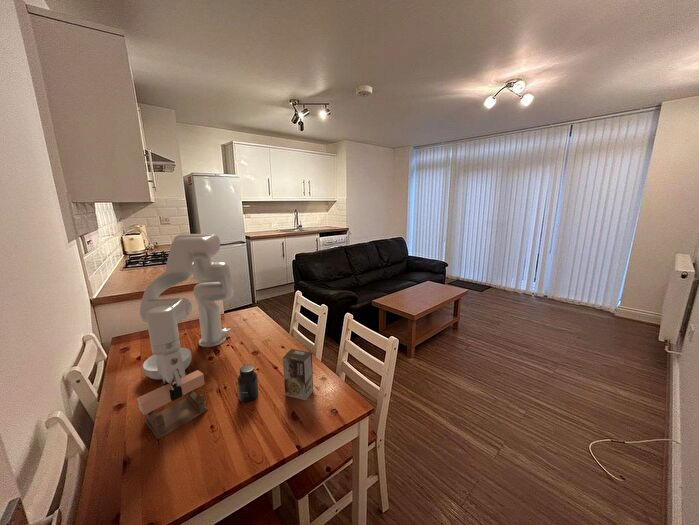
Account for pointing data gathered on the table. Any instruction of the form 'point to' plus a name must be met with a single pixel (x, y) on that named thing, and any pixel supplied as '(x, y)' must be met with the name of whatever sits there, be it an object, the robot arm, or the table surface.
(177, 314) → the robot arm
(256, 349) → the table surface
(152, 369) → the cereal bowl
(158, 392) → the pink rectangular bar
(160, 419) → the plate with corner blocks
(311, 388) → the coffee box
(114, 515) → the table surface
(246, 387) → the supplement bottle
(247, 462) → the table surface
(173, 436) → the table surface
